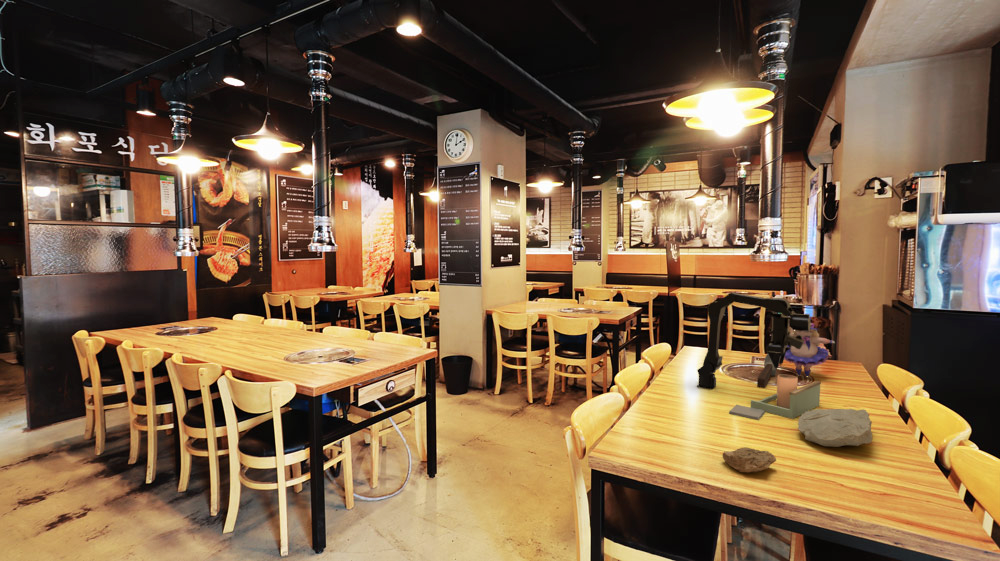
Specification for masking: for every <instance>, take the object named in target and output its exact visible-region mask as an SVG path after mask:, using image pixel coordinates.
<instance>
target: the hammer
mask: <svg viewBox="0 0 1000 561" xmlns="http://www.w3.org/2000/svg"><path fill="white" fill-rule="evenodd" d="M777 371H778V368H775V367H774V365H773V363H772V361H771V358H770V356H769V354H768V353H767V354H766V355H765V358H764V362H763V369H762V370H761V371H760V372H759V375H758V376H757V380H756V384H757V385H756V386H757V388H762V389H765V388H766V387H767V385H768V382H769V380H770V378H771V377H775V376H776V375H777ZM770 375H771V376H770Z"/></svg>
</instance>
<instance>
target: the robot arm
mask: <svg viewBox="0 0 1000 561" xmlns="http://www.w3.org/2000/svg"><path fill="white" fill-rule="evenodd" d="M733 303H737V304H738V303H739V304H743V305H750V306H755V307H761V308H764V309H766V310H769V311H770V312H769V313H768V314H767V315H766V317H767V318H771V320H772V322H771V330H770V334H771V340H770V341H769V342H770V343H769V344H767V345H766V347H765V352H766V353H767V354H769V356H770V358H771V361H772V363H773V365H774V367H775V368H777V369H778V368H779V366H780V365H779V364H781V365H782V364H783V363H784V361H785V360H784V357H785V354H786V351H788V350H789V349H790V348H791V347H792V346H794V347H796V348H797V349H800V348H802V346H803V344H804V342H805V341H804V340H803V339H802V336H800V335H798V336H796V337H795V336H791V335H790V334H791V332H790V330H789V327H790V328H791V329H792V330H793V331H795V330H800V331H810V326H812V325H811V323H812V321H811V320H810V314H808V313H805V314H804V313H803V314H801V313H796V312H795V311H794V309H792V307H791V303H790V301H789V300H788V299H787V298H785V297H761V296H754V295H749V294H744V293H743V294H742V293H738V292H730V293H728V294H727V295H726V296H724V297H722V298H720V299H719V300H717V301H715V300H714V301H712V302H710V303H709V304H708V305H707V316H708V318H709V327H708V328H709V330H708V340H707V342H708V345H707V352H706V354H705V357H704V358H703V359H704V360H703V362H702V363H703V364H702V366H701V367H700V368H698V369H697V373H698V384H697V388H702V389H706V390H713V389H716V387H717V377H716V374H715V373H716V371H718V370H719V369H720V368H721V366H723V357H724V356H723V355H720V354H719V349H720V347H719V346H720V335H721V334H720V333H721V323H722V322H721V321H722V320H723V318H724V315H725V311H726V308H727V307H729V306H731V305H732V304H733ZM787 346H789V347H787Z"/></svg>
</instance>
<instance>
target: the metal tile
mask: <svg viewBox="0 0 1000 561" xmlns="http://www.w3.org/2000/svg"><path fill="white" fill-rule="evenodd" d="M728 412H729V413H728V414H729V415H733V416H737V417H743V418H746V419H752V420H756V421H759V420H760V419H762V417H763V416H764V414H765V413H766V412H765V410H760V409H755V408H751V406H750V407H749V406H745V405H739V404H736V405H734V407H732V408H731V409H730V410H729V411H728Z"/></svg>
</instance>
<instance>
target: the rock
mask: <svg viewBox="0 0 1000 561" xmlns="http://www.w3.org/2000/svg"><path fill="white" fill-rule="evenodd" d="M776 458H777V457H776V456H775V455H774V454H773V453H772V452H769V450H759V449H755V448H750V447H747V446H745V447H740V448H737V449H735V450H730V451H723V453H722V459H723V461H724V462H726V464H727V465H728V466H729V467H731V468H732V469H735V470H736V471H738V472H740V473H758V472H761V471H764V470H767V469H769V468H770V466H771V465H772V464H774V463H775V462H777V459H776Z"/></svg>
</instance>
